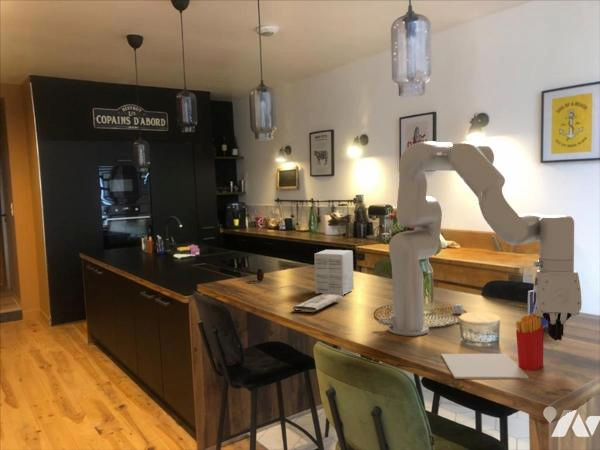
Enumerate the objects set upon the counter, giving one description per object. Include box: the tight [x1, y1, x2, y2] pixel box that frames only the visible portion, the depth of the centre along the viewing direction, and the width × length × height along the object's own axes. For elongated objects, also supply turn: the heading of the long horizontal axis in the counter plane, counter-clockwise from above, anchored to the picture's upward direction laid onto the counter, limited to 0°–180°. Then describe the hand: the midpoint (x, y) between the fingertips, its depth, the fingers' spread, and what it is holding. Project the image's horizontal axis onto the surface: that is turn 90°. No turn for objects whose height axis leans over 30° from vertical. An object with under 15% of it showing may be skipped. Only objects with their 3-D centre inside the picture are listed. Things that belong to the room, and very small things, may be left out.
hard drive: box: [527, 289, 548, 330], centre depth 156 cm, size 2×8×12 cm, turn 114°
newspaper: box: [292, 294, 343, 313], centre depth 195 cm, size 23×12×2 cm, turn 150°
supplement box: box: [313, 249, 355, 296], centre depth 219 cm, size 13×13×18 cm
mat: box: [440, 353, 530, 380], centre depth 127 cm, size 17×16×1 cm
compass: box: [246, 267, 265, 285], centre depth 240 cm, size 8×8×7 cm
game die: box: [452, 303, 464, 315], centre depth 178 cm, size 4×4×3 cm
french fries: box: [515, 313, 544, 372], centre depth 125 cm, size 9×4×13 cm, turn 127°
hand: (555, 338), depth 125 cm, fingers closed
